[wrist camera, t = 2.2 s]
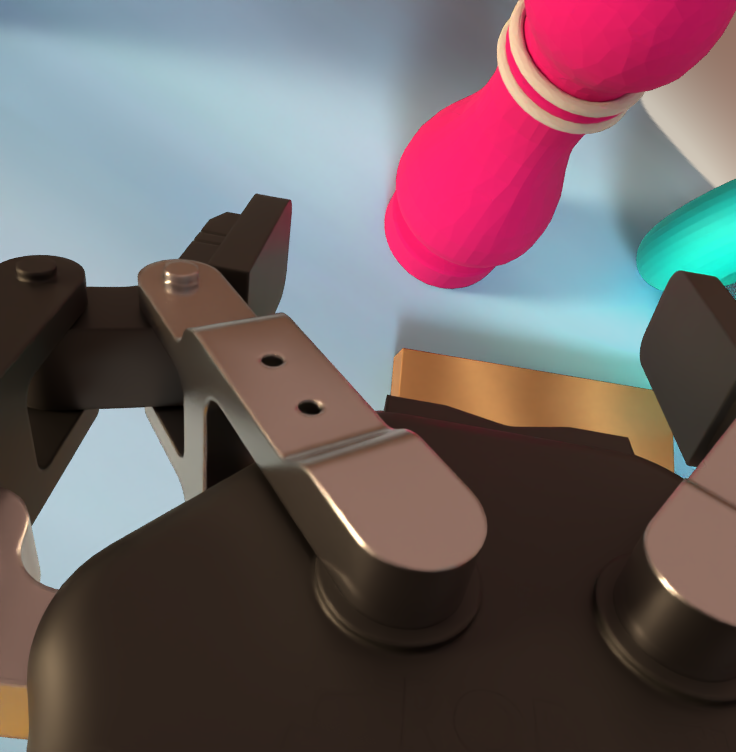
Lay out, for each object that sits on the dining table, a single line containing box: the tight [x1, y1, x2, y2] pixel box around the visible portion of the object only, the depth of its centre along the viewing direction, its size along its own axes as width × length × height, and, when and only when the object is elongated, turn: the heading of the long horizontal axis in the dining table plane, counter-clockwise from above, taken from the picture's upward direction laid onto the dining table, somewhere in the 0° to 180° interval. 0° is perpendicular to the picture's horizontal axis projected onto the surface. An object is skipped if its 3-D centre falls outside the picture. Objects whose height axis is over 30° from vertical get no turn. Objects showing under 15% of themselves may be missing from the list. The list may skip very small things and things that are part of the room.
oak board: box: [391, 348, 674, 473], centre depth 29 cm, size 14×20×2 cm
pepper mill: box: [385, 0, 736, 289], centre depth 25 cm, size 7×7×20 cm
